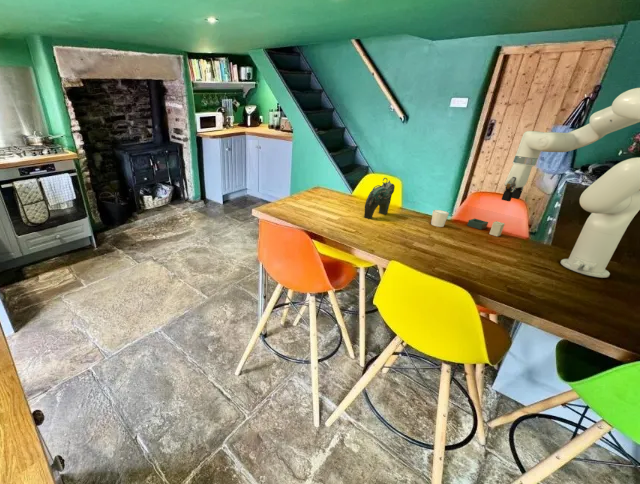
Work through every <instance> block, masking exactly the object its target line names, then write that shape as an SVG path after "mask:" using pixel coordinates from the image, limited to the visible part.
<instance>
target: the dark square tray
mask: <svg viewBox="0 0 640 484" xmlns="http://www.w3.org/2000/svg"><path fill="white" fill-rule="evenodd" d="M488 225H489V222H488V221H485V220H481V219H478V218H471V219H469V220H468V222H467V224H466V226H467V227H470V228H474V229H477V230H485V229H486V228H487V227H488Z"/></svg>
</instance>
